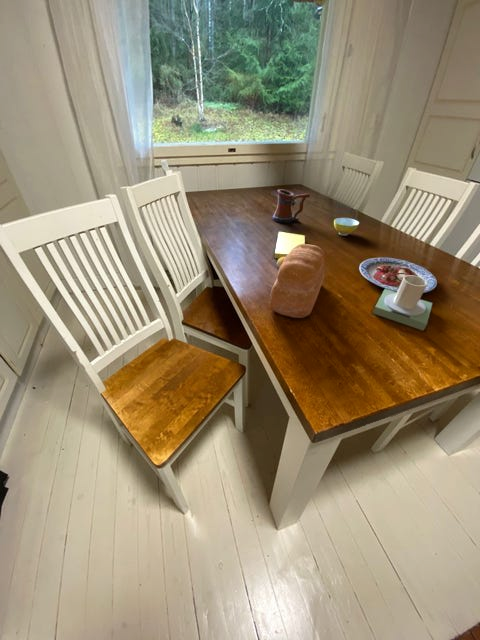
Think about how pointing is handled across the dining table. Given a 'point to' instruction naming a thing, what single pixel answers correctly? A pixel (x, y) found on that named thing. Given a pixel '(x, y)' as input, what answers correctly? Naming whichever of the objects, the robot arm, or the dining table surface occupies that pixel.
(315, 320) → the dining table surface
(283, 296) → the bread
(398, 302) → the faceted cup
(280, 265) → the bread roll
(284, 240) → the pale yellow flat slab
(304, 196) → the mug
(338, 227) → the bowl
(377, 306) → the scale
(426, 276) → the ceramic plate
